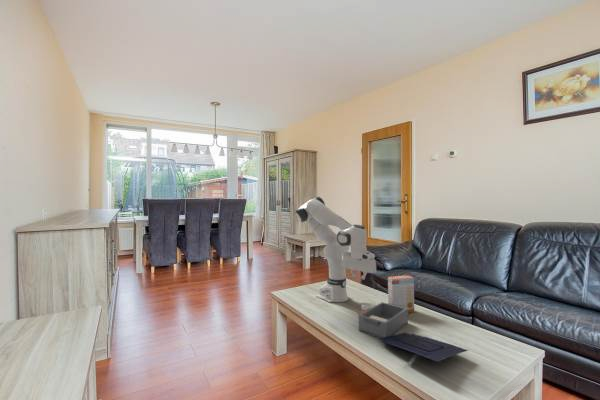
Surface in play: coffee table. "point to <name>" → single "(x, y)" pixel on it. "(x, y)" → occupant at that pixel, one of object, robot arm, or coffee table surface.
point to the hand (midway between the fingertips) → (358, 278)
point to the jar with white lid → (365, 307)
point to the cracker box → (401, 291)
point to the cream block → (378, 318)
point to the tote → (381, 329)
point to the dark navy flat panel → (423, 346)
